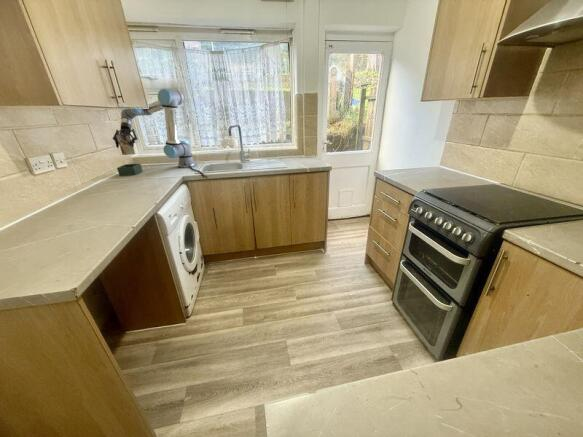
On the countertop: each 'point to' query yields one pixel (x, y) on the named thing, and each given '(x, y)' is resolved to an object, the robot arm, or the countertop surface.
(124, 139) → the coffee box
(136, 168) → the tote
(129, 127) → the robot arm
